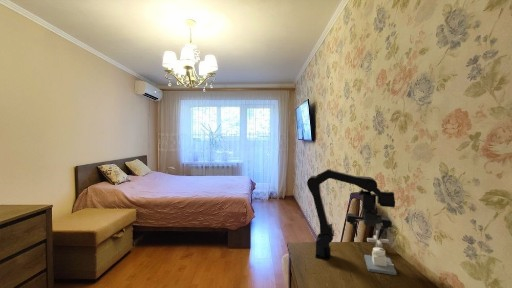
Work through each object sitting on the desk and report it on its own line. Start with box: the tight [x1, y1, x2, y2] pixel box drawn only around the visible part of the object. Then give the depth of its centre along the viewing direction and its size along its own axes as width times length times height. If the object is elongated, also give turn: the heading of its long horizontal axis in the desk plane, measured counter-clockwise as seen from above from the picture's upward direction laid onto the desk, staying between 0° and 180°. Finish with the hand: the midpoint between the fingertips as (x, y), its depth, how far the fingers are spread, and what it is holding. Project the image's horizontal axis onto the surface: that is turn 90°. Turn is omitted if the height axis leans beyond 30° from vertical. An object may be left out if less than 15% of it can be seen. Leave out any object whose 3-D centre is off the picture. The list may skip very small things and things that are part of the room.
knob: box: [371, 246, 387, 266], centre depth 112 cm, size 5×5×6 cm
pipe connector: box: [366, 230, 390, 248], centre depth 127 cm, size 10×10×10 cm
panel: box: [363, 254, 398, 276], centre depth 112 cm, size 12×13×5 cm
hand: (367, 238), depth 114 cm, fingers open, 9 cm apart
